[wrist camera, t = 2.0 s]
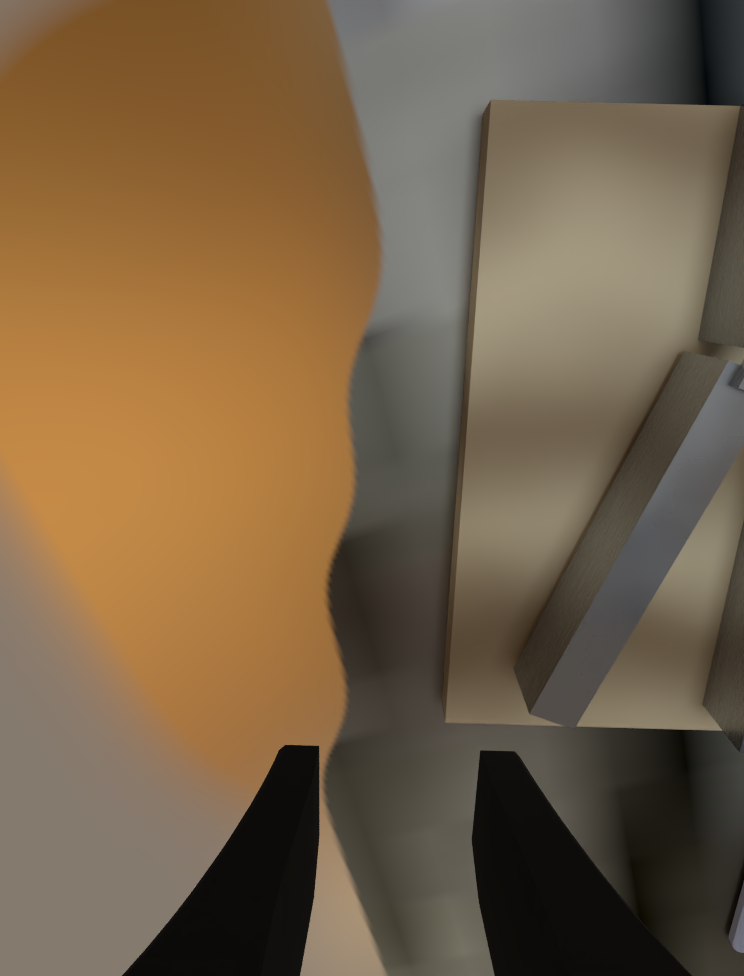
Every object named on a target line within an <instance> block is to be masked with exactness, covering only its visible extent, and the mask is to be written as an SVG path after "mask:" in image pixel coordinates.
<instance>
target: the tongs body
mask: <svg viewBox="0 0 744 976" xmlns="http://www.w3.org/2000/svg"><path fill="white" fill-rule="evenodd" d="M698 340H699V341H705V342H711V343H717V344H723V345H729V346H736V347H742V348H744V105H742V106H740V111H739V117H738V122H737V128H736V133H735V139H734V144H733V149H732V155H731V160H730V166H729V171H728V177H727V182H726V188H725V193H724V199H723V204H722V210H721V215H720V221H719V226H718V232H717V237H716V242H715V248H714V253H713V259H712V264H711V270H710V275H709V281H708V286H707V292H706V297H705V303H704V308H703V314H702V319H701V324H700V330H699V335H698ZM702 705H703V706H704V707H705V709H706V710H707V711H708V713H709V714H710V715H711V716H712V718H713V719H714V720H715V722H716V723H717V724H718V725H719V727H720V728H721V729H722V731H723V732H724V733H725V734H726V736H727V737H728V738H729V740H730V741H731V742H732V743H733V745H734V746H735V747H736V749H737V750H738V751H739V752H740V753H744V521H743V525H742V529H741V534H740V538H739V543H738V547H737V552H736V556H735V561H734V565H733V569H732V574H731V578H730V583H729V587H728V592H727V596H726V601H725V605H724V609H723V614H722V618H721V623H720V627H719V632H718V636H717V641H716V645H715V649H714V654H713V658H712V663H711V667H710V672H709V676H708V681H707V685H706V689H705V694H704V698H703V703H702Z"/></svg>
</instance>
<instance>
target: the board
mask: <svg viewBox="0 0 744 976" xmlns="http://www.w3.org/2000/svg"><path fill="white" fill-rule="evenodd" d="M739 111H740V106H715V105H675V104H635V103H595V102H555V101H515V100H491V101H490V103H489V104H488V106H487V108H486V109H485V111H484V113H483V122H482V136H481V150H480V164H479V179H478V193H477V207H476V221H475V235H474V249H473V264H472V278H471V292H470V306H469V320H468V335H467V349H466V363H465V377H464V391H463V405H462V420H461V434H460V448H459V462H458V476H457V491H456V505H455V519H454V533H453V547H452V562H451V576H450V590H449V604H448V618H447V632H446V647H445V661H444V675H443V689H442V705H443V711H444V718H445V723H472V724H507V725H543V726H562V725H559V724H556V723H554V722H551V721H548V720H545V719H542V718H539V717H536V716H533V715H530V714H529V712H528V709H527V706H526V703H525V701H524V698H523V695H522V692H521V689H520V686H519V684H518V681H517V678H516V675H515V672H514V669H513V667H514V665H515V664H516V662H517V660H518V658H519V656H520V654H521V653H522V651H523V649H524V647H525V645H526V643H527V641H528V640H529V638H530V636H531V634H532V632H533V630H534V628H535V627H536V625H537V623H538V621H539V619H540V617H541V615H542V614H543V612H544V610H545V608H546V606H547V604H548V603H549V601H550V599H551V597H552V595H553V593H554V591H555V590H556V588H557V586H558V584H559V582H560V580H561V578H562V577H563V575H564V573H565V571H566V569H567V567H568V565H569V564H570V562H571V560H572V558H573V556H574V554H575V552H576V551H577V549H578V547H579V545H580V543H581V541H582V540H583V538H584V536H585V534H586V532H587V530H588V528H589V527H590V525H591V523H592V521H593V519H594V517H595V515H596V514H597V512H598V510H599V508H600V506H601V504H602V502H603V501H604V499H605V497H606V495H607V493H608V491H609V489H610V488H611V486H612V484H613V482H614V480H615V478H616V477H617V475H618V473H619V471H620V469H621V467H622V465H623V464H624V462H625V460H626V458H627V456H628V454H629V452H630V451H631V449H632V447H633V445H634V443H635V441H636V439H637V438H638V436H639V434H640V432H641V430H642V428H643V426H644V425H645V423H646V421H647V419H648V417H649V415H650V414H651V412H652V410H653V408H654V406H655V404H656V402H657V401H658V399H659V397H660V395H661V393H662V391H663V389H664V388H665V386H666V384H667V382H668V380H669V378H670V376H671V375H672V373H673V371H674V369H675V367H676V365H677V364H678V362H679V360H680V358H681V356H682V354H683V352H684V351H686V352H691V353H696V354H701V355H705V356H710V357H715V358H720V359H725V360H729V361H732V362H734V363H736V364H739V365H741V363H742V361H743V360H744V348H742V347H736V346H729V345H723V344H717V343H711V342H705V341H699V340H698V335H699V330H700V324H701V319H702V314H703V308H704V303H705V297H706V292H707V286H708V281H709V275H710V270H711V264H712V259H713V253H714V248H715V242H716V237H717V232H718V226H719V221H720V215H721V210H722V204H723V199H724V193H725V188H726V182H727V177H728V171H729V166H730V160H731V155H732V149H733V144H734V139H735V133H736V128H737V122H738V117H739ZM743 521H744V446H743V448H742V449H741V451H740V453H739V454H738V456H737V458H736V459H735V461H734V463H733V464H732V466H731V468H730V469H729V471H728V473H727V474H726V476H725V478H724V479H723V481H722V483H721V484H720V486H719V488H718V490H717V491H716V493H715V495H714V496H713V498H712V500H711V501H710V503H709V505H708V506H707V508H706V510H705V511H704V513H703V515H702V516H701V518H700V520H699V521H698V523H697V525H696V526H695V528H694V530H693V531H692V533H691V535H690V536H689V538H688V540H687V541H686V543H685V545H684V546H683V548H682V550H681V551H680V553H679V555H678V556H677V558H676V560H675V561H674V563H673V565H672V567H671V568H670V570H669V572H668V573H667V575H666V577H665V578H664V580H663V582H662V583H661V585H660V587H659V588H658V590H657V592H656V593H655V595H654V597H653V598H652V600H651V602H650V603H649V605H648V607H647V608H646V610H645V612H644V613H643V615H642V617H641V618H640V620H639V622H638V623H637V625H636V627H635V628H634V630H633V632H632V633H631V635H630V637H629V638H628V640H627V642H626V644H625V645H624V647H623V649H622V650H621V652H620V654H619V655H618V657H617V659H616V660H615V662H614V664H613V665H612V667H611V669H610V670H609V672H608V674H607V675H606V677H605V679H604V680H603V682H602V684H601V685H600V687H599V689H598V690H597V692H596V694H595V695H594V697H593V699H592V700H591V702H590V704H589V705H588V707H587V709H586V710H585V712H584V714H583V716H582V717H581V719H580V721H579V722H578V724H577V726H578V727H613V728H649V729H684V730H719V731H722V729H721V728H720V727H719V725H718V724H717V723H716V722H715V720H714V719H713V718H712V716H711V715H710V714H709V713H708V711H707V710H706V709H705V707H704V706H703V705H702V703H703V698H704V694H705V689H706V685H707V681H708V676H709V672H710V667H711V663H712V658H713V654H714V649H715V645H716V641H717V636H718V632H719V627H720V623H721V618H722V614H723V609H724V605H725V601H726V596H727V592H728V587H729V583H730V578H731V574H732V569H733V565H734V561H735V556H736V552H737V547H738V543H739V538H740V534H741V529H742V525H743Z"/></svg>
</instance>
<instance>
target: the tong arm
mask: <svg viewBox="0 0 744 976" xmlns="http://www.w3.org/2000/svg"><path fill="white" fill-rule="evenodd" d="M743 446H744V360H743V361H742V363H741V365H739V364H736V363H734V362H732V361H729V360H725V359H720V358H715V357H710V356H705V355H701V354H696V353H691V352H686V351H684V352H683V354H682V356H681V358H680V360H679V362H678V364H677V365H676V367H675V369H674V371H673V373H672V375H671V376H670V378H669V380H668V382H667V384H666V386H665V388H664V389H663V391H662V393H661V395H660V397H659V399H658V401H657V402H656V404H655V406H654V408H653V410H652V412H651V414H650V415H649V417H648V419H647V421H646V423H645V425H644V426H643V428H642V430H641V432H640V434H639V436H638V438H637V439H636V441H635V443H634V445H633V447H632V449H631V451H630V452H629V454H628V456H627V458H626V460H625V462H624V464H623V465H622V467H621V469H620V471H619V473H618V475H617V477H616V478H615V480H614V482H613V484H612V486H611V488H610V489H609V491H608V493H607V495H606V497H605V499H604V501H603V502H602V504H601V506H600V508H599V510H598V512H597V514H596V515H595V517H594V519H593V521H592V523H591V525H590V527H589V528H588V530H587V532H586V534H585V536H584V538H583V540H582V541H581V543H580V545H579V547H578V549H577V551H576V552H575V554H574V556H573V558H572V560H571V562H570V564H569V565H568V567H567V569H566V571H565V573H564V575H563V577H562V578H561V580H560V582H559V584H558V586H557V588H556V590H555V591H554V593H553V595H552V597H551V599H550V601H549V603H548V604H547V606H546V608H545V610H544V612H543V614H542V615H541V617H540V619H539V621H538V623H537V625H536V627H535V628H534V630H533V632H532V634H531V636H530V638H529V640H528V641H527V643H526V645H525V647H524V649H523V651H522V653H521V654H520V656H519V658H518V660H517V662H516V664H515V665H514V667H513V669H514V672H515V675H516V678H517V681H518V684H519V686H520V689H521V692H522V695H523V698H524V701H525V703H526V706H527V709H528V712H529V714H530V715H533V716H536V717H539V718H542V719H545V720H548V721H551V722H554V723H556V724H559V725H562V726H565V727H568V728H571V729H575V727H576V726H577V724H578V722H579V721H580V719H581V717H582V716H583V714H584V712H585V710H586V709H587V707H588V705H589V704H590V702H591V700H592V699H593V697H594V695H595V694H596V692H597V690H598V689H599V687H600V685H601V684H602V682H603V680H604V679H605V677H606V675H607V674H608V672H609V670H610V669H611V667H612V665H613V664H614V662H615V660H616V659H617V657H618V655H619V654H620V652H621V650H622V649H623V647H624V645H625V644H626V642H627V640H628V638H629V637H630V635H631V633H632V632H633V630H634V628H635V627H636V625H637V623H638V622H639V620H640V618H641V617H642V615H643V613H644V612H645V610H646V608H647V607H648V605H649V603H650V602H651V600H652V598H653V597H654V595H655V593H656V592H657V590H658V588H659V587H660V585H661V583H662V582H663V580H664V578H665V577H666V575H667V573H668V572H669V570H670V568H671V567H672V565H673V563H674V561H675V560H676V558H677V556H678V555H679V553H680V551H681V550H682V548H683V546H684V545H685V543H686V541H687V540H688V538H689V536H690V535H691V533H692V531H693V530H694V528H695V526H696V525H697V523H698V521H699V520H700V518H701V516H702V515H703V513H704V511H705V510H706V508H707V506H708V505H709V503H710V501H711V500H712V498H713V496H714V495H715V493H716V491H717V490H718V488H719V486H720V484H721V483H722V481H723V479H724V478H725V476H726V474H727V473H728V471H729V469H730V468H731V466H732V464H733V463H734V461H735V459H736V458H737V456H738V454H739V453H740V451H741V449H742V448H743Z"/></svg>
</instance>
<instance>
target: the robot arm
mask: <svg viewBox="0 0 744 976" xmlns="http://www.w3.org/2000/svg"><path fill="white" fill-rule="evenodd" d="M318 845H319V746H301V745H285V746H284V747H282V748H281V749H280V750H279V751H278V754H277V756H276V758H275V761H274V763H273V765H272V767H271V769H270V771H269V773H268V775H267V777H266V778H265V780H264V782H263V784H262V786H261V788H260V789H259V791H258V793H257V794H256V796H255V798H254V800H253V802H252V803H251V805H250V807H249V808H248V810H247V811H246V813H245V815H244V816H243V818H242V819H241V821H240V822H239V824H238V826H237V827H236V829H235V830H234V832H233V834H232V835H231V837H230V838H229V840H228V841H227V843H226V845H225V846H224V847H223V849H222V850H221V852H220V853H219V855H218V856H217V857H216V859H215V860H214V862H213V863H212V865H211V866H210V867H209V869H208V870H207V872H206V873H205V874H204V876H203V877H202V878H201V880H200V881H199V883H198V884H197V885H196V887H195V888H194V890H193V891H192V892H191V894H190V895H189V896H188V898H187V899H186V900H185V901H184V903H183V904H182V905H181V907H180V908H179V909H178V911H177V912H176V913H175V914H174V916H173V917H172V918H171V919H170V921H169V922H168V923H167V924H166V925H165V927H164V928H163V929H162V930H161V931H160V933H159V934H158V935H157V936H156V938H155V939H154V940H153V941H152V942H151V944H150V945H149V946H148V947H147V948H146V949H145V951H144V952H143V953H142V954H141V955H140V956H139V958H137V960H136V961H135V962H134V963H133V964H132V965H131V966H130V967H129V969H128V970H127V971H126V972H125V973H124V974H123V975H122V976H300V972H301V967H302V961H303V955H304V949H305V944H306V939H307V932H308V928H309V922H310V916H311V911H312V905H313V899H314V889H315V879H316V867H317V856H318ZM472 846H473V855H474V864H475V873H476V881H477V889H478V898H479V904H480V909H481V914H482V919H483V923H484V928H485V933H486V937H487V942H488V947H489V951H490V956H491V960H492V965H493V970H494V974H495V976H692V975H691V974H690V973H689V972H688V971H687V970H686V969H685V968H684V967H683V966H682V965H681V964H680V963H679V962H678V961H677V960H676V959H675V957H674V956H673V955H672V954H671V953H670V952H669V951H668V950H667V949H666V948H665V947H664V946H663V945H662V944H661V942H660V941H659V940H658V939H657V938H656V937H655V936H654V935H653V934H652V933H651V931H650V930H649V929H648V928H647V927H646V926H645V925H644V924H643V922H642V921H641V920H640V919H639V918H638V917H637V915H636V914H635V913H634V912H633V911H632V910H631V909H630V907H629V906H628V905H627V904H626V903H625V901H624V900H623V899H622V898H621V896H620V895H619V894H618V893H617V892H616V890H615V889H614V888H613V887H612V886H611V884H610V883H609V882H608V881H607V879H606V878H605V877H604V876H603V874H602V873H601V872H600V871H599V869H598V868H597V867H596V866H595V864H594V863H593V862H592V860H591V859H590V858H589V856H588V855H587V854H586V852H585V851H584V850H583V848H582V847H581V846H580V844H579V843H578V842H577V840H576V839H575V838H574V836H573V835H572V834H571V832H570V831H569V830H568V828H567V827H566V826H565V824H564V823H563V821H562V820H561V819H560V817H559V816H558V814H557V813H556V811H555V810H554V808H553V807H552V806H551V804H550V803H549V801H548V800H547V798H546V797H545V795H544V794H543V792H542V791H541V789H540V788H539V786H538V785H537V783H536V782H535V780H534V779H533V777H532V776H531V774H530V772H529V771H528V769H527V768H526V766H525V765H524V763H523V761H522V760H521V758H520V757H519V756H518V755H517V754H516V753H515V752H514V751H480V760H479V770H478V781H477V791H476V802H475V812H474V822H473V833H472ZM729 941H730V943H731V945H732V946H733V948H734V950H736V951H737V952H740V953H744V882H743V886H742V889H741V893H740V897H739V900H738V904H737V907H736V911H735V914H734V918H733V922H732V925H731V929H730V932H729Z"/></svg>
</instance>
